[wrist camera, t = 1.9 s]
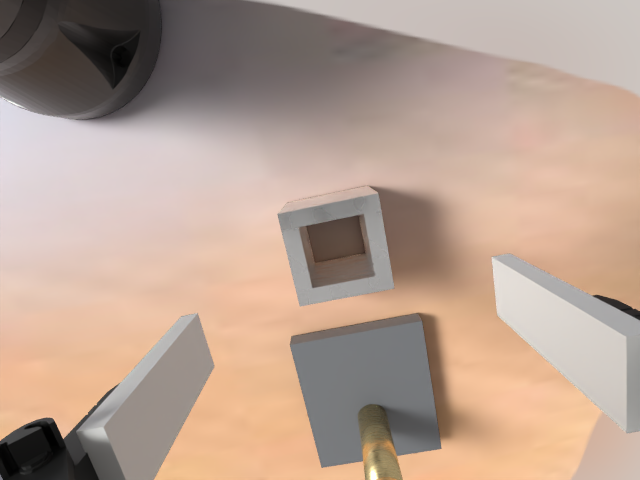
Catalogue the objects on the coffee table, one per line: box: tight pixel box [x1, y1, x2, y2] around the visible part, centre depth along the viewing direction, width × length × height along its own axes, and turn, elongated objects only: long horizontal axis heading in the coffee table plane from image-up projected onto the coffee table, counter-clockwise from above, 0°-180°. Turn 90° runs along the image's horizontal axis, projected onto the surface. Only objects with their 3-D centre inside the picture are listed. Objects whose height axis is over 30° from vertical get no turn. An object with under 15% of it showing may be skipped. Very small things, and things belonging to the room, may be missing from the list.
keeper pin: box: [358, 404, 403, 480], centre depth 28 cm, size 3×3×9 cm
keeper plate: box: [290, 313, 441, 468], centre depth 33 cm, size 14×12×2 cm
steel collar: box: [278, 186, 395, 306], centre depth 27 cm, size 7×7×6 cm
